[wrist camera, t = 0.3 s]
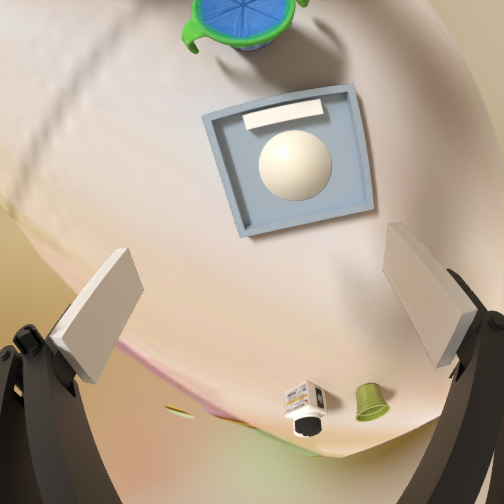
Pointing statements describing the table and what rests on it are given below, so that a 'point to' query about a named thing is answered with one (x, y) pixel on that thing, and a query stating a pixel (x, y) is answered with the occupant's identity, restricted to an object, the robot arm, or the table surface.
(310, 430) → the container
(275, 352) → the table surface
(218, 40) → the snack cup
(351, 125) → the meal tray
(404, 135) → the table surface
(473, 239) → the table surface
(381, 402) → the plant pot
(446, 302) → the robot arm
